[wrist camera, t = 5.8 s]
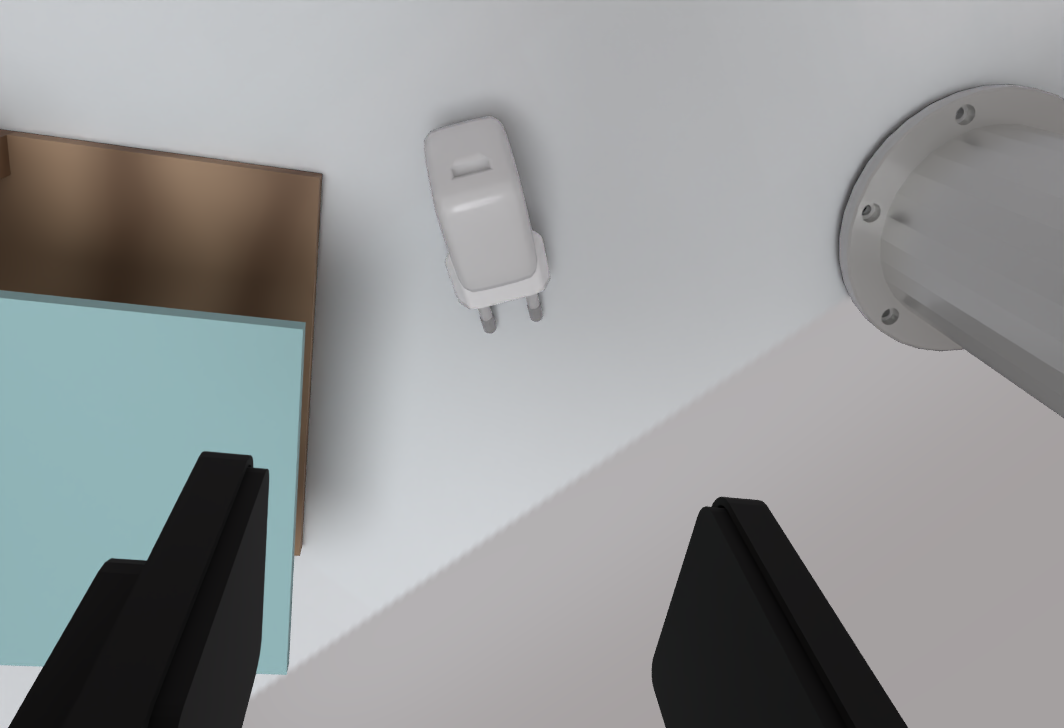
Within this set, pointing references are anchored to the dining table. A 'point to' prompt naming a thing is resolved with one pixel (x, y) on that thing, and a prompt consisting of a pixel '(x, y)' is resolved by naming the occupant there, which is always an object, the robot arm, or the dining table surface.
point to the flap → (132, 447)
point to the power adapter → (484, 218)
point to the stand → (162, 235)
